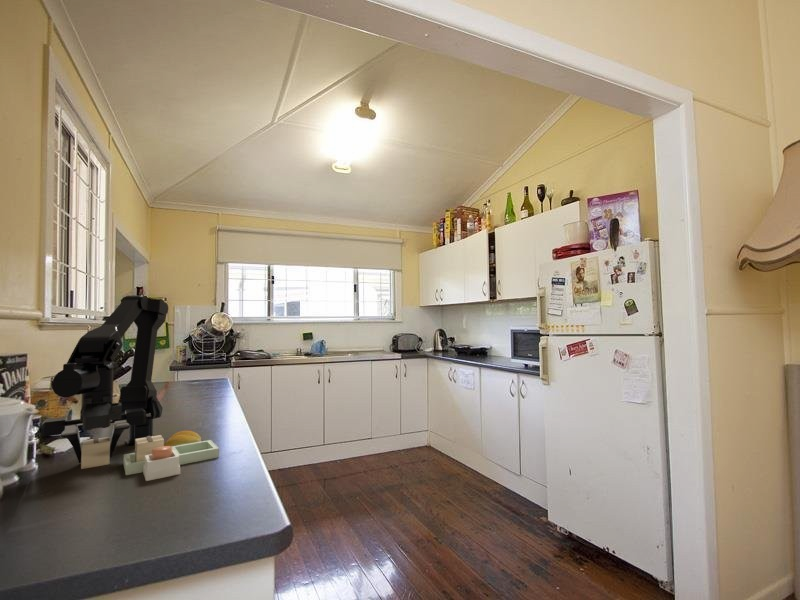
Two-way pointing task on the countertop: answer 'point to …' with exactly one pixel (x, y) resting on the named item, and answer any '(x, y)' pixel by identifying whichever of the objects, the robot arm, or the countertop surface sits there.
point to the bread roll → (183, 438)
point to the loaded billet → (147, 446)
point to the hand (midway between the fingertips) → (95, 460)
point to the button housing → (161, 467)
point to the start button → (161, 452)
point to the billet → (95, 452)
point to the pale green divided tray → (185, 452)
